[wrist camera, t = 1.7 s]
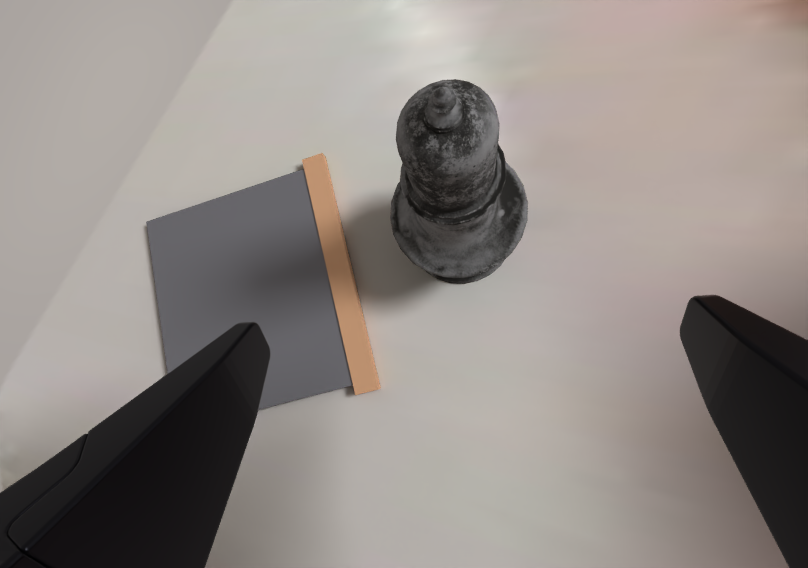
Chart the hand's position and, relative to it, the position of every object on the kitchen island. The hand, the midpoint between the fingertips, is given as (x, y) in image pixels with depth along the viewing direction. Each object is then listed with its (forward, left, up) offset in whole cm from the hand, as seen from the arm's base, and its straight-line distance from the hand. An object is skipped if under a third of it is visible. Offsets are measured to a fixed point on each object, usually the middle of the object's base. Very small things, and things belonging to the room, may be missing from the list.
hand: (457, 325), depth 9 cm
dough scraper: (-6, +11, -12) cm, 17 cm away
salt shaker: (+4, +4, -12) cm, 13 cm away
